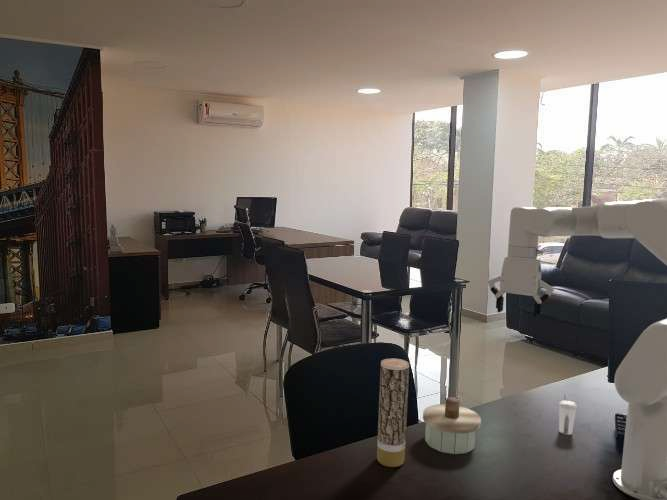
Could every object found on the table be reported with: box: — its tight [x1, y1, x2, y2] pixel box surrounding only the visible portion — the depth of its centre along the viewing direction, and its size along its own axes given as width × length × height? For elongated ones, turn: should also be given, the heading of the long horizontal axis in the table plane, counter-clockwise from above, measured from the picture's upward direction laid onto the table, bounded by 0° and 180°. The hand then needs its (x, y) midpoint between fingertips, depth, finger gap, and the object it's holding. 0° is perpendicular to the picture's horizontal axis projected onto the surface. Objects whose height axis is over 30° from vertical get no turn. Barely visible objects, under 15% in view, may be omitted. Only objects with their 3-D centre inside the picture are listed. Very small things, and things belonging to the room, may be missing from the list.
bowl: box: [424, 423, 477, 455], centre depth 140 cm, size 13×13×6 cm
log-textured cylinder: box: [376, 358, 410, 468], centre depth 128 cm, size 7×7×25 cm
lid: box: [422, 396, 482, 433], centre depth 139 cm, size 15×15×6 cm
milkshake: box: [558, 393, 578, 436], centre depth 147 cm, size 5×5×10 cm
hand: (517, 314), depth 144 cm, fingers open, 9 cm apart
